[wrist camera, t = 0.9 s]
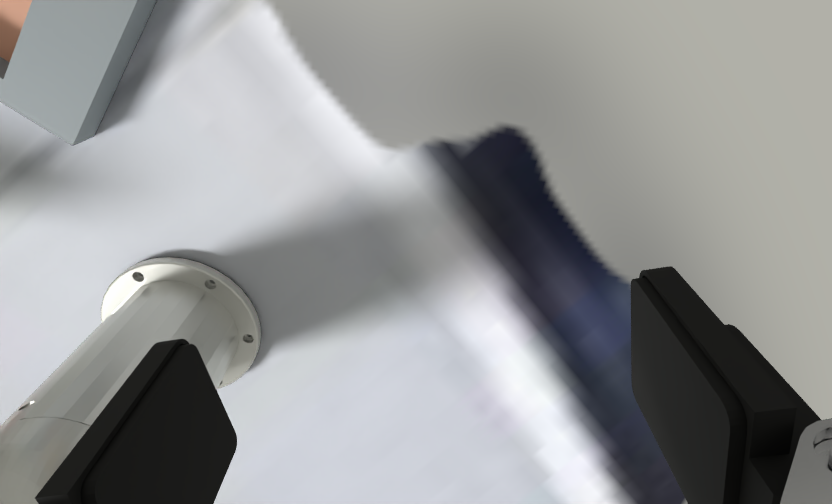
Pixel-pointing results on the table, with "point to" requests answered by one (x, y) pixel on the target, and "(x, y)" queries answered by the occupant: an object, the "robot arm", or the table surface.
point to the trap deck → (66, 59)
